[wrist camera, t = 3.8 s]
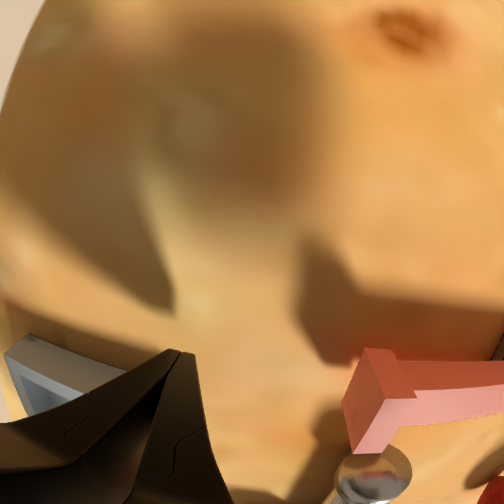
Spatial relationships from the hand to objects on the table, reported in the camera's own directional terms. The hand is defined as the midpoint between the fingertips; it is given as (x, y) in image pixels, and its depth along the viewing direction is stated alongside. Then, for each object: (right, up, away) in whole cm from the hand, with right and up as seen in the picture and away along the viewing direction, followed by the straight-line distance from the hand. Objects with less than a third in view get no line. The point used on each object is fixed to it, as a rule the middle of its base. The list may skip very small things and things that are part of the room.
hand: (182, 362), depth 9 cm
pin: (+7, -12, +4) cm, 14 cm away
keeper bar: (+13, -2, +1) cm, 13 cm away
